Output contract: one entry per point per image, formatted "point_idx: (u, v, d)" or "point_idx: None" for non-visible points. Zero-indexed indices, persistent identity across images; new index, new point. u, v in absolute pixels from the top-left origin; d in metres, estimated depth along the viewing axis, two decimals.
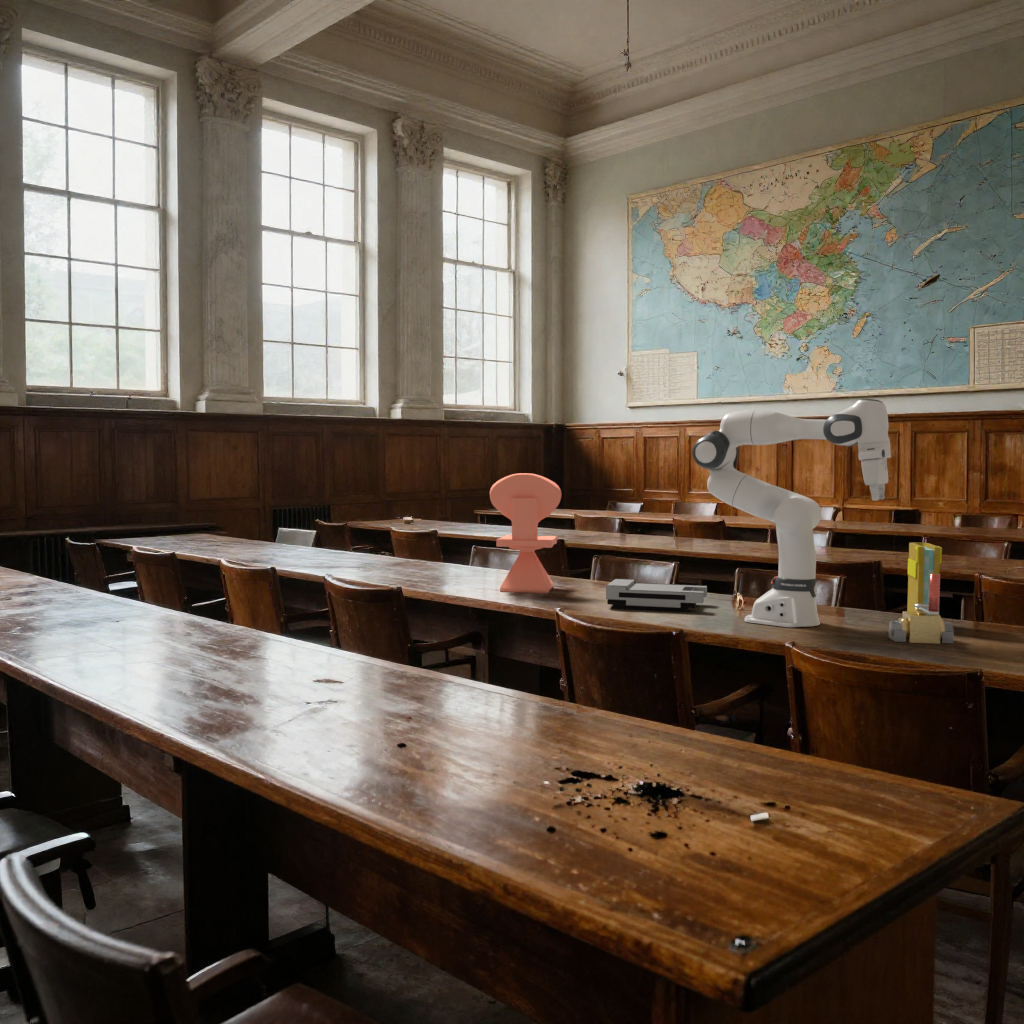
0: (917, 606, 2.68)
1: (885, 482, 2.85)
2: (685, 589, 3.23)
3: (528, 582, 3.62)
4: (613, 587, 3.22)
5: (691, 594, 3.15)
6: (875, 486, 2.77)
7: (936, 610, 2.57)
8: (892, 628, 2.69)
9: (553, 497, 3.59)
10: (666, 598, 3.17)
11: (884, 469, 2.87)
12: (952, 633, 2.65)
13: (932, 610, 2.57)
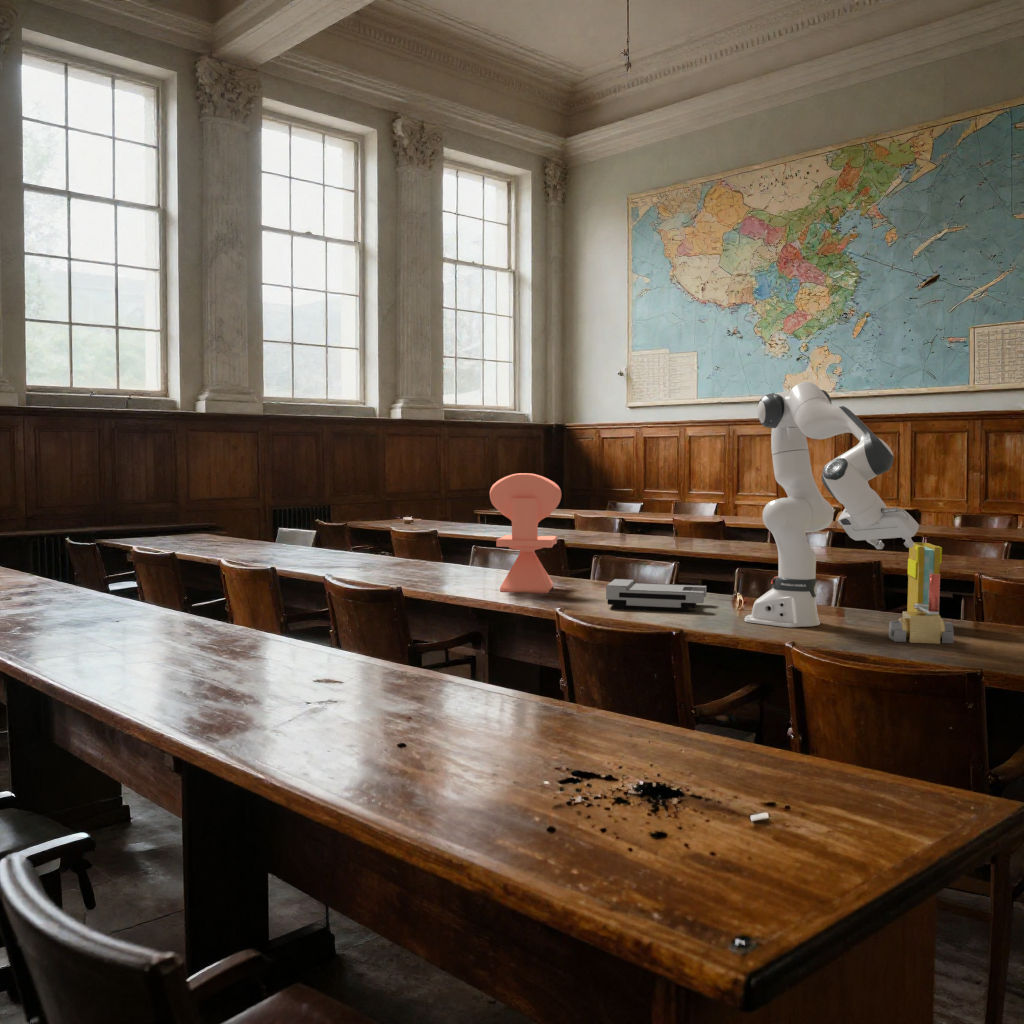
0: (917, 606, 2.68)
1: (895, 537, 2.50)
2: (685, 589, 3.23)
3: (528, 582, 3.62)
4: (613, 587, 3.21)
5: (691, 594, 3.15)
6: None
7: (936, 610, 2.57)
8: (892, 628, 2.69)
9: (553, 497, 3.59)
10: (666, 598, 3.17)
11: (892, 526, 2.48)
12: (952, 633, 2.65)
13: (932, 610, 2.57)
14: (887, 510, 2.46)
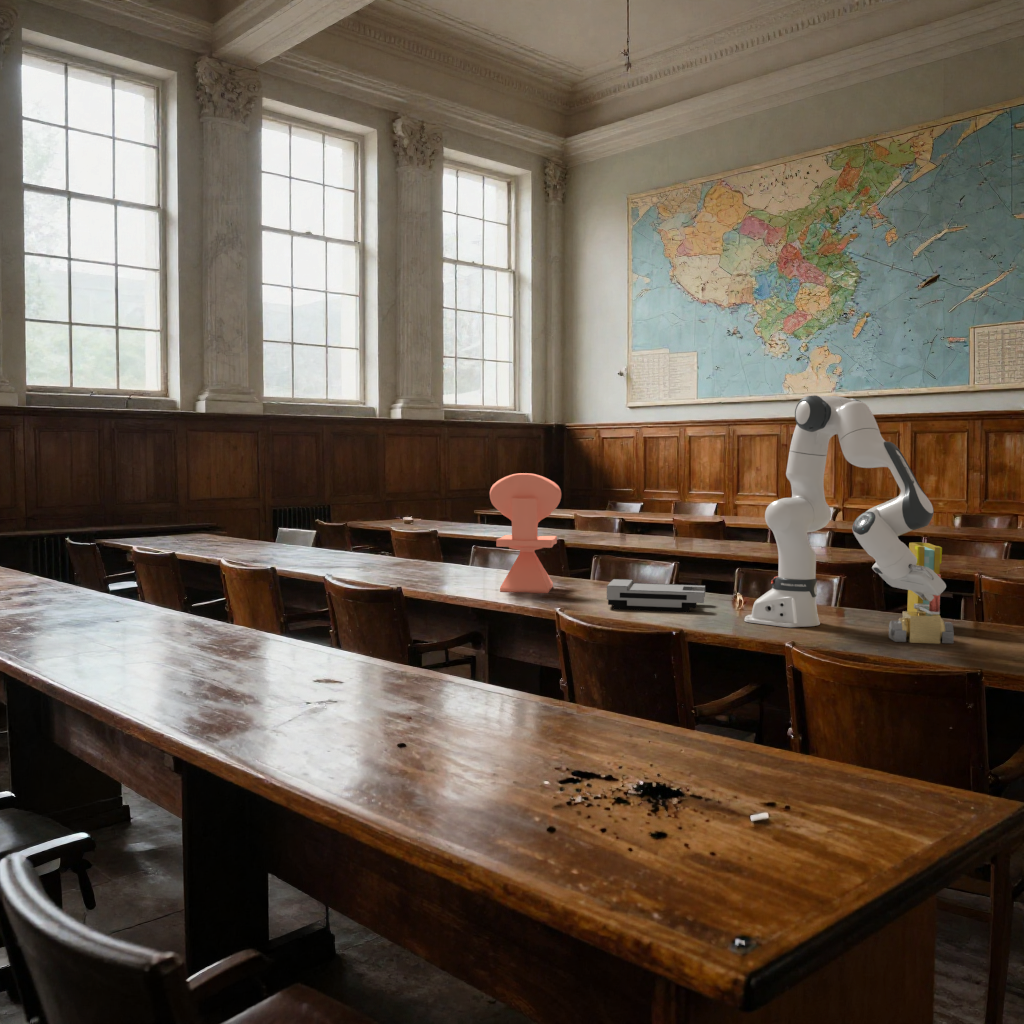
0: (917, 606, 2.68)
1: (924, 592, 2.52)
2: (685, 589, 3.24)
3: (528, 582, 3.62)
4: (614, 587, 3.21)
5: (692, 594, 3.15)
6: None
7: (937, 610, 2.56)
8: (892, 628, 2.69)
9: (553, 497, 3.59)
10: (667, 598, 3.17)
11: (919, 582, 2.50)
12: (952, 633, 2.65)
13: (933, 610, 2.57)
14: (913, 567, 2.48)
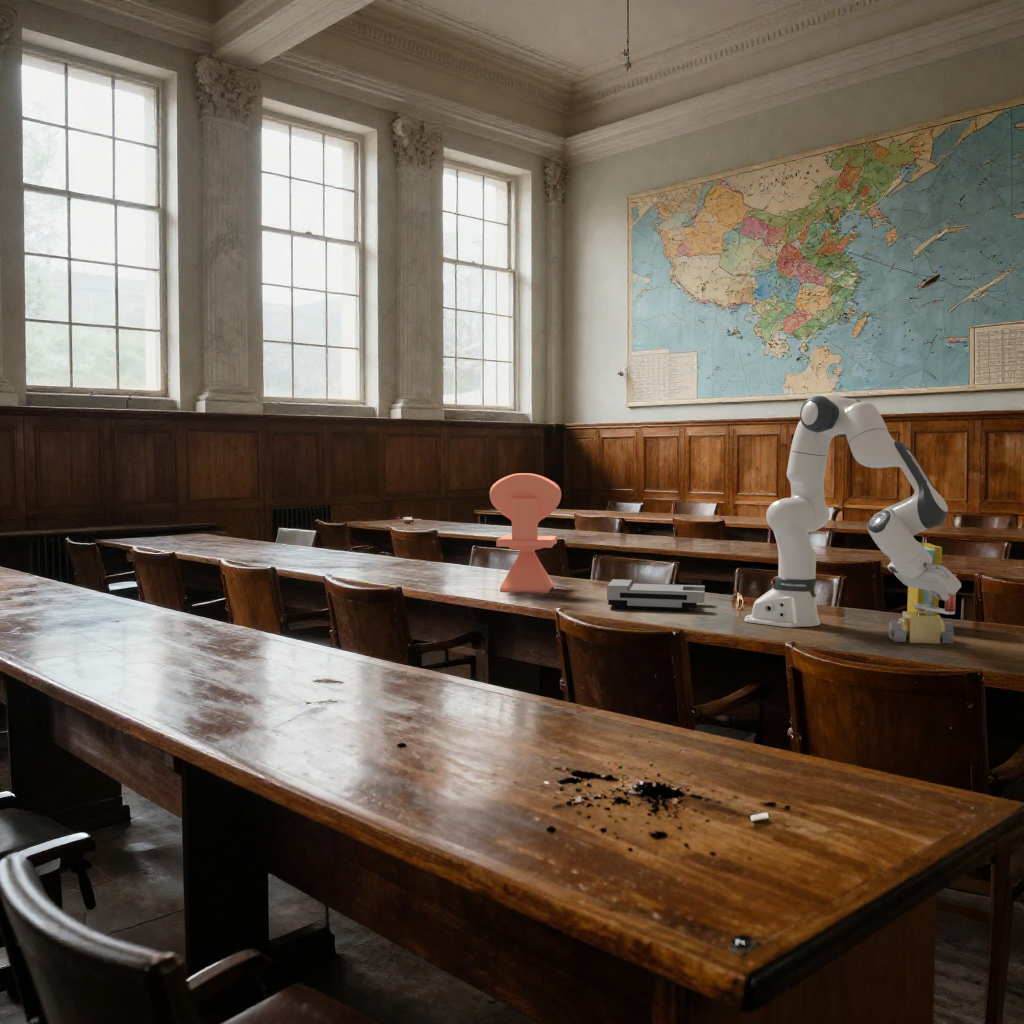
0: (920, 606, 2.67)
1: (939, 592, 2.52)
2: (685, 589, 3.24)
3: (528, 582, 3.62)
4: (614, 587, 3.21)
5: (693, 594, 3.15)
6: None
7: (954, 610, 2.57)
8: (892, 628, 2.69)
9: (553, 497, 3.59)
10: (667, 598, 3.17)
11: (934, 581, 2.50)
12: (952, 633, 2.65)
13: (950, 610, 2.57)
14: (928, 566, 2.49)
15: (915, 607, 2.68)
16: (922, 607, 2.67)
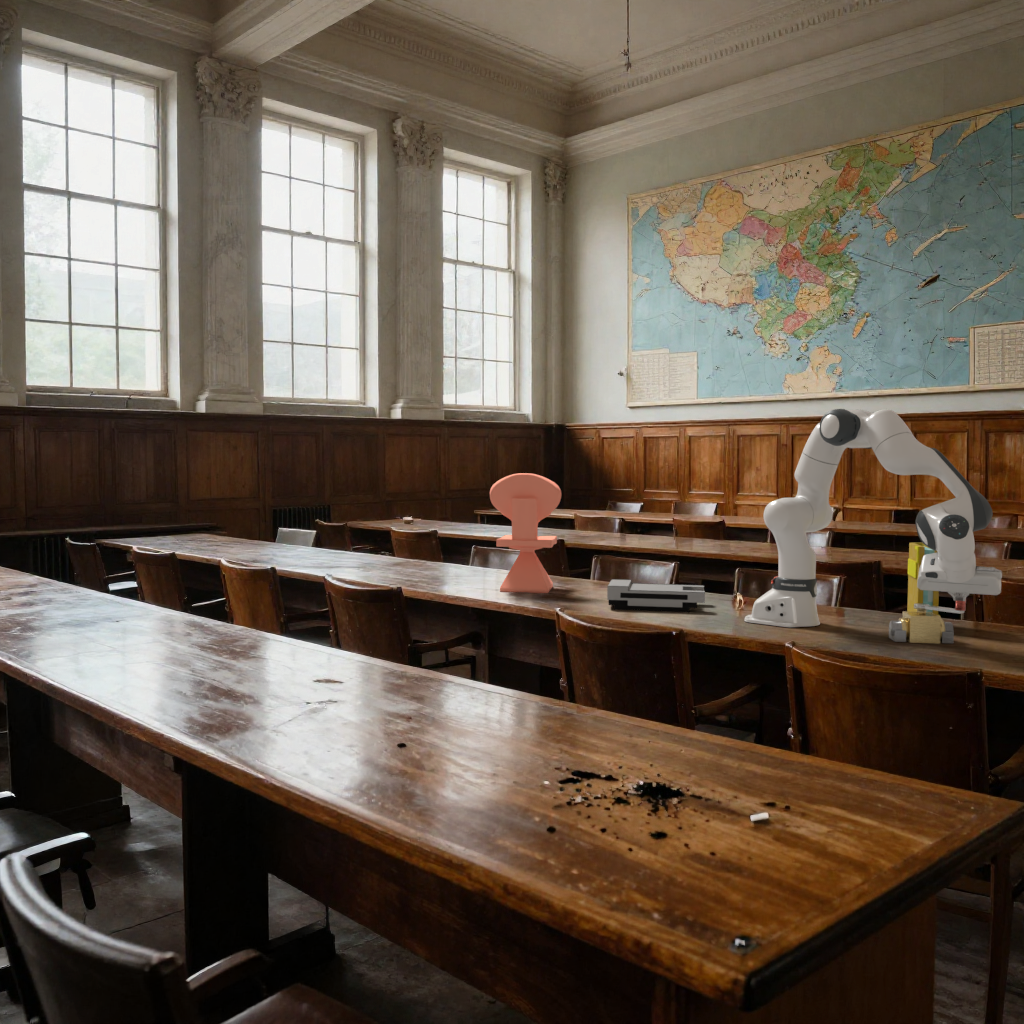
0: (923, 606, 2.67)
1: (975, 593, 2.52)
2: (685, 589, 3.24)
3: (528, 582, 3.62)
4: (614, 587, 3.20)
5: (693, 594, 3.16)
6: None
7: (965, 609, 2.59)
8: (892, 628, 2.69)
9: (553, 497, 3.59)
10: (668, 598, 3.17)
11: (980, 584, 2.49)
12: (952, 633, 2.65)
13: (963, 609, 2.59)
14: (984, 569, 2.46)
15: (917, 607, 2.68)
16: (925, 607, 2.66)
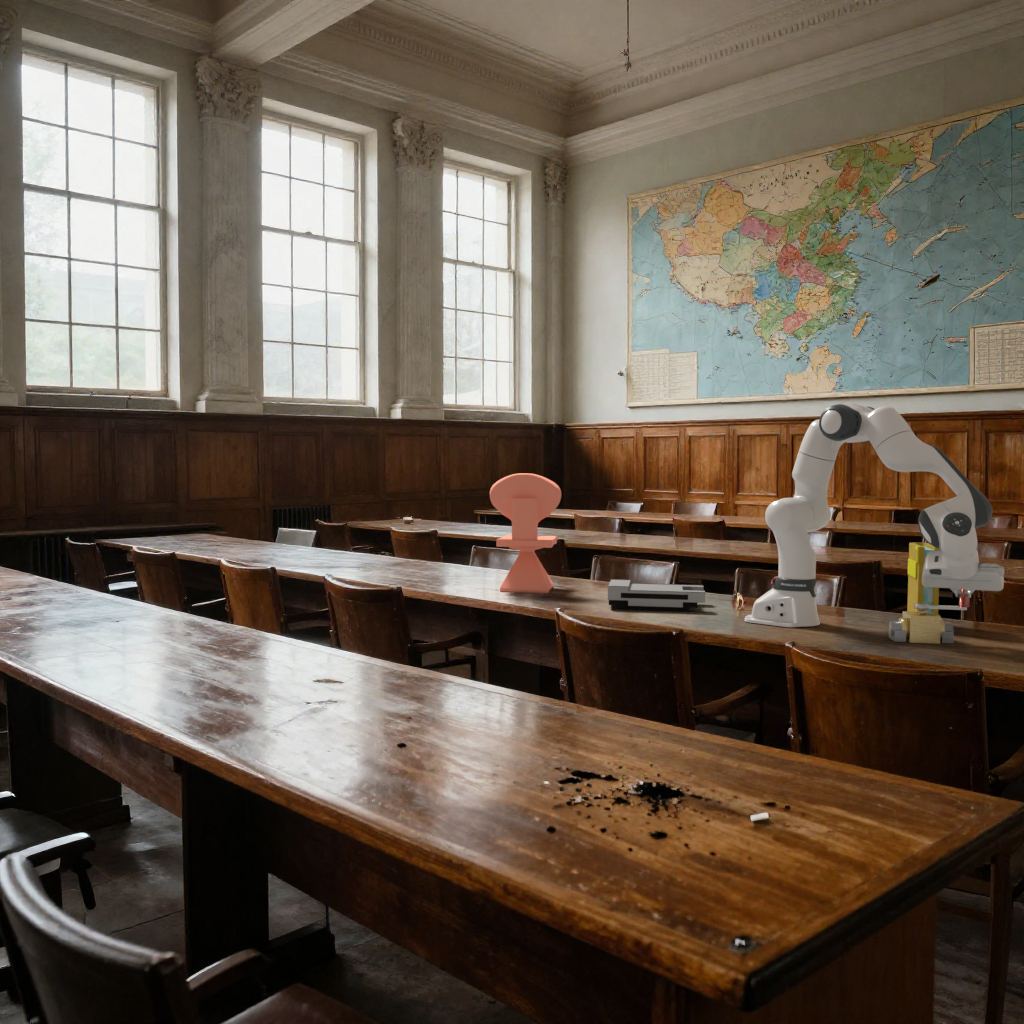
0: (927, 606, 2.67)
1: (978, 589, 2.58)
2: (685, 589, 3.24)
3: (528, 582, 3.62)
4: (615, 588, 3.20)
5: (694, 594, 3.16)
6: None
7: None
8: (892, 628, 2.69)
9: (553, 497, 3.59)
10: (668, 598, 3.17)
11: (983, 580, 2.55)
12: (952, 633, 2.65)
13: (968, 606, 2.65)
14: (986, 566, 2.52)
15: (922, 608, 2.67)
16: (929, 607, 2.67)
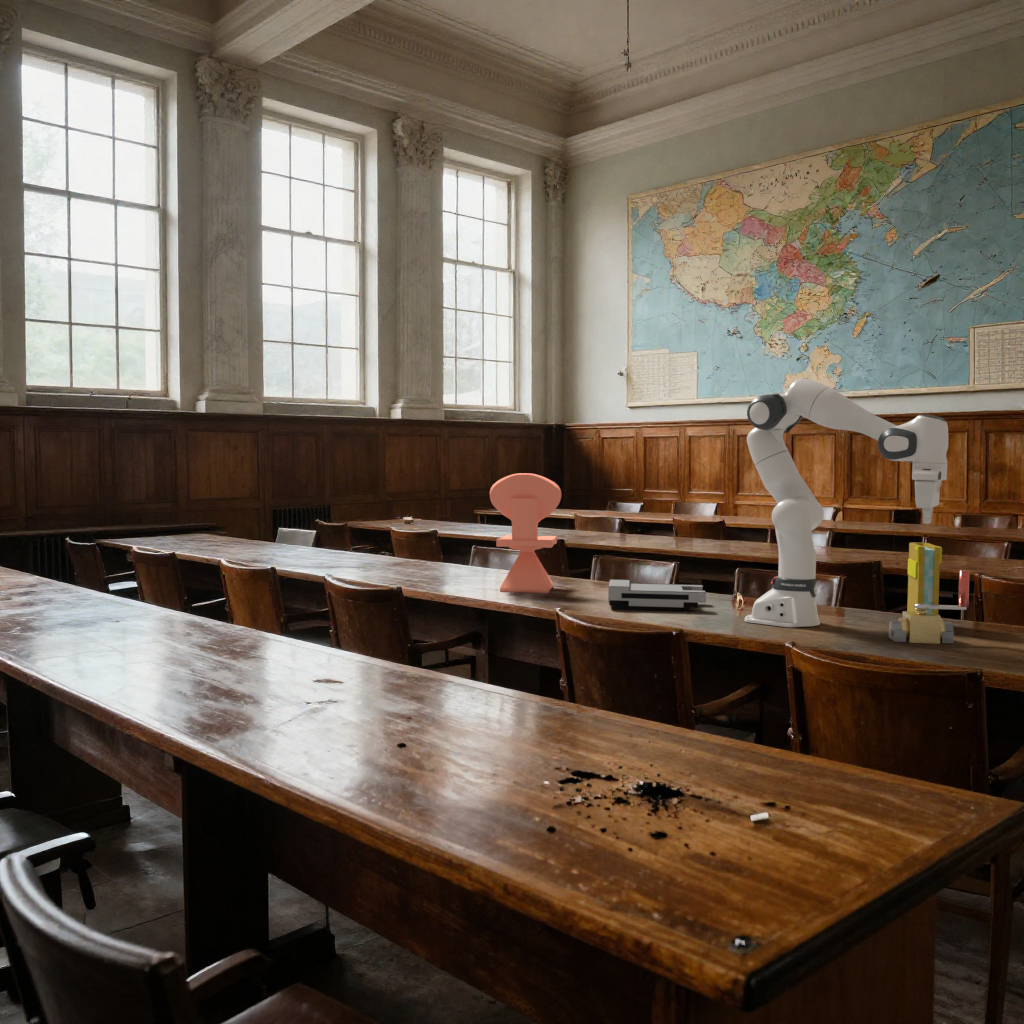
0: (928, 606, 2.67)
1: (936, 505, 2.68)
2: (685, 589, 3.24)
3: (528, 582, 3.62)
4: (616, 588, 3.19)
5: (694, 594, 3.16)
6: (928, 509, 2.63)
7: None
8: (892, 628, 2.69)
9: (553, 497, 3.59)
10: (669, 598, 3.17)
11: (936, 491, 2.69)
12: (952, 633, 2.65)
13: None
14: None
15: (923, 608, 2.67)
16: (929, 607, 2.67)
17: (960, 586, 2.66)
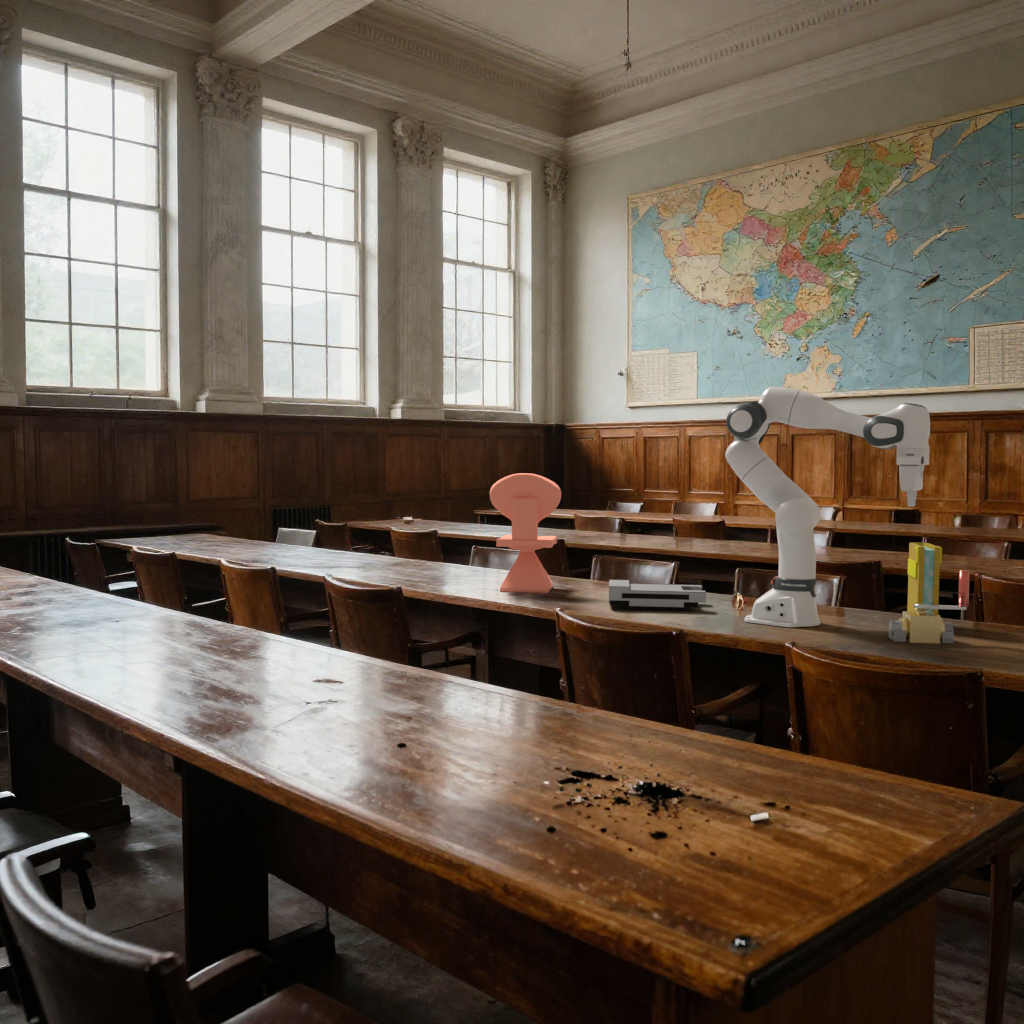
0: (928, 606, 2.67)
1: (920, 489, 2.82)
2: (685, 589, 3.25)
3: (528, 582, 3.62)
4: (616, 588, 3.19)
5: (695, 593, 3.16)
6: (912, 492, 2.77)
7: None
8: (892, 628, 2.69)
9: (553, 497, 3.59)
10: (670, 598, 3.17)
11: (920, 476, 2.83)
12: (952, 633, 2.65)
13: None
14: None
15: (923, 608, 2.67)
16: (929, 607, 2.67)
17: (960, 586, 2.66)
